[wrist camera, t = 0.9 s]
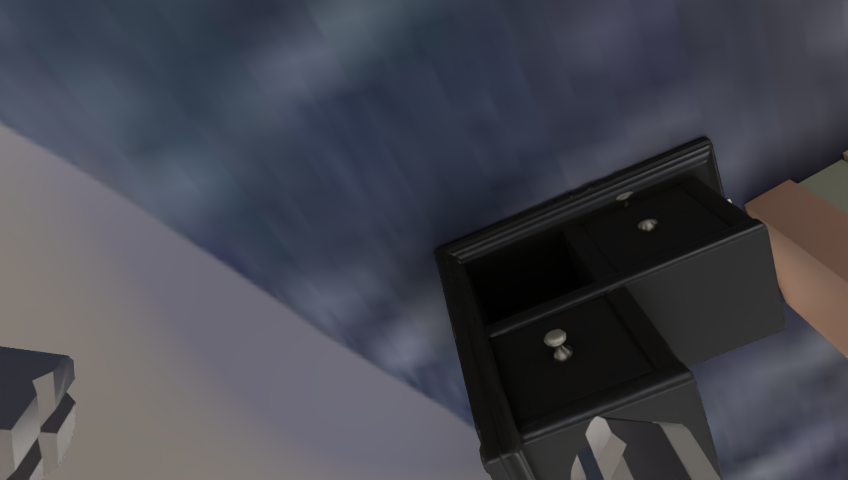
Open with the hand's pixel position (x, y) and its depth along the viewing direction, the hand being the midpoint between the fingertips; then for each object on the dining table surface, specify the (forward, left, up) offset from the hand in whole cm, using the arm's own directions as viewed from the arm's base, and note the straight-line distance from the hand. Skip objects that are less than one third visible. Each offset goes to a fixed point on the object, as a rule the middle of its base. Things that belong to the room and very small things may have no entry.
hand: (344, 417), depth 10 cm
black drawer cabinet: (-6, +24, -38) cm, 46 cm away
